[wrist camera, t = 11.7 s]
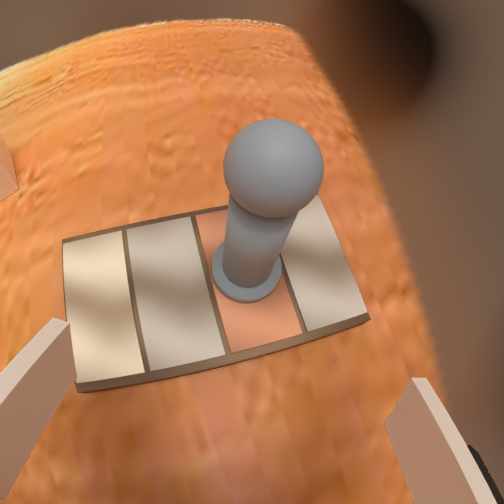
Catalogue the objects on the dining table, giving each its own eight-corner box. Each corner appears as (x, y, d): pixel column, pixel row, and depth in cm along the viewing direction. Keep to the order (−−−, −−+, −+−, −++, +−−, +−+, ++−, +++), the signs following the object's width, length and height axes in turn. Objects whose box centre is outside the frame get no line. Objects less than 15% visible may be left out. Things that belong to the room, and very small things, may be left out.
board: (68, 247, 24) (60, 237, 22) (312, 199, 29) (317, 188, 27) (84, 393, 19) (75, 392, 18) (362, 324, 24) (372, 318, 23)
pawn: (205, 248, 24) (207, 99, 12) (267, 236, 25) (314, 93, 13) (221, 310, 22) (237, 191, 10) (287, 294, 23) (365, 174, 11)
